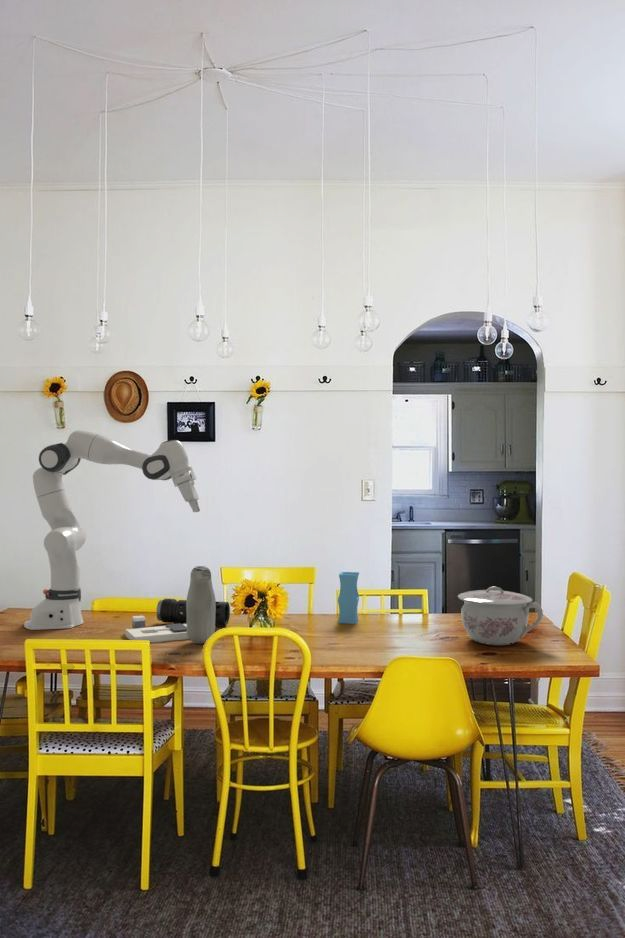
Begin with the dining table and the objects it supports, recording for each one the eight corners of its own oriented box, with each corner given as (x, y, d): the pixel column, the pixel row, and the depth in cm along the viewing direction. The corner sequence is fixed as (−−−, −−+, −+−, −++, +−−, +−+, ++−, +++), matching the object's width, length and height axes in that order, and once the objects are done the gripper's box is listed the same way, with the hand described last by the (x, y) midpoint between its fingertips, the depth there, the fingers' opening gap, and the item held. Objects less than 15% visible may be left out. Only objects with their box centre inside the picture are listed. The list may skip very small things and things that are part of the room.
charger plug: (134, 634, 308) (134, 618, 308) (132, 631, 312) (132, 616, 312) (145, 633, 310) (145, 617, 310) (142, 630, 314) (142, 615, 314)
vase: (356, 623, 332) (357, 575, 331) (337, 623, 333) (338, 574, 332) (358, 620, 339) (359, 572, 339) (339, 619, 341) (340, 571, 340)
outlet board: (134, 644, 292) (135, 634, 292) (125, 635, 305) (125, 627, 305) (198, 638, 303) (198, 629, 303) (187, 630, 316) (187, 621, 315)
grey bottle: (220, 642, 297) (220, 565, 296) (201, 647, 288) (202, 569, 287) (199, 638, 302) (200, 563, 301) (180, 644, 293) (181, 566, 293)
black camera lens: (223, 629, 318) (224, 603, 318) (155, 626, 322) (155, 600, 322) (230, 624, 328) (230, 599, 327) (163, 621, 332) (163, 596, 331)
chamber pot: (443, 636, 312) (444, 582, 311) (504, 631, 321) (505, 579, 321) (483, 653, 285) (484, 594, 285) (548, 647, 295) (549, 591, 295)
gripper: (179, 482, 327) (192, 514, 327) (173, 480, 307) (186, 514, 306) (194, 477, 327) (206, 508, 327) (189, 474, 307) (202, 508, 307)
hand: (196, 511), depth 316 cm, fingers open, 8 cm apart
